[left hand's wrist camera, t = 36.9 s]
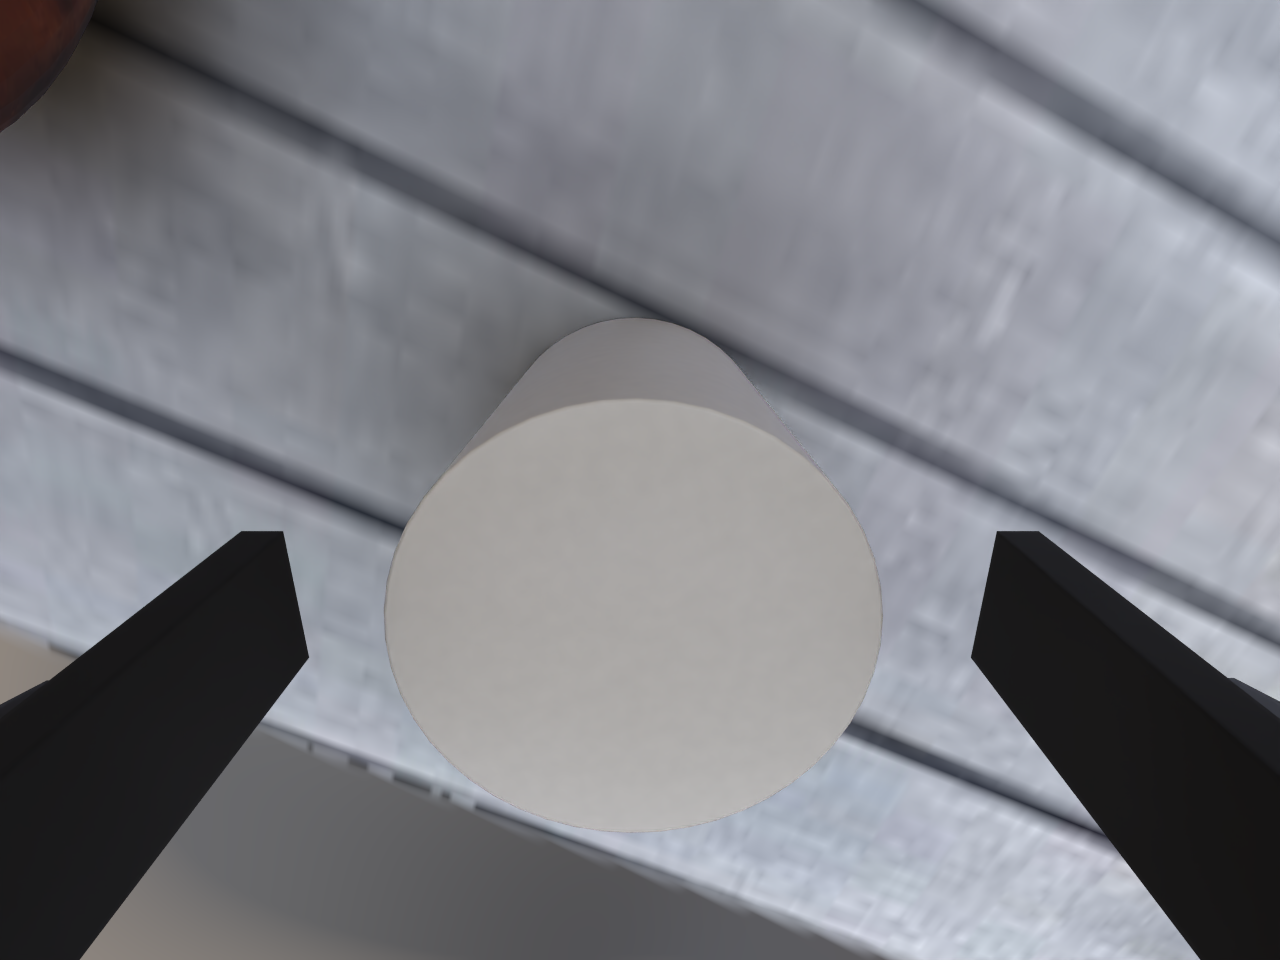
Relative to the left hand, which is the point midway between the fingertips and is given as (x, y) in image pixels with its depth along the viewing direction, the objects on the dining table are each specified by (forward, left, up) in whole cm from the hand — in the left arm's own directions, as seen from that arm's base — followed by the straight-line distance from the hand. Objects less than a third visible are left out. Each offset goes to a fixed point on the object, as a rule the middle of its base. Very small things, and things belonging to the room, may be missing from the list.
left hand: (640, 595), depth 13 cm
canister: (0, 0, -11) cm, 11 cm away
